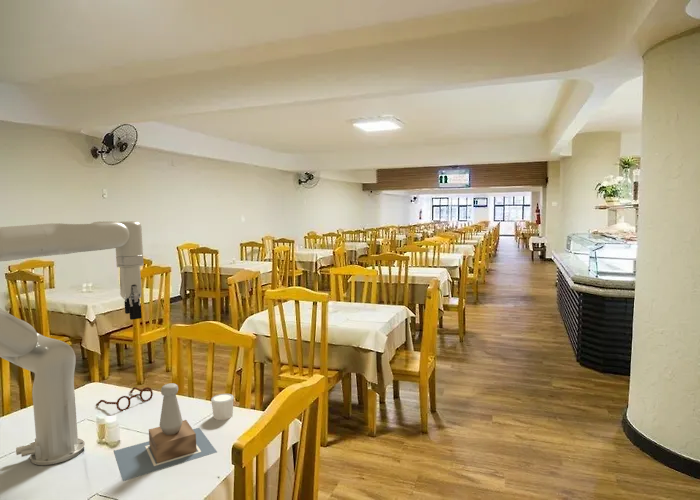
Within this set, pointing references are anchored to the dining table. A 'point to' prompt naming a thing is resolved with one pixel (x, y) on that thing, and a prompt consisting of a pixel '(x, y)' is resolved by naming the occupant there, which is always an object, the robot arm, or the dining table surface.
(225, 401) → the white rounded cylinder
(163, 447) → the walnut block
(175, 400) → the salt shaker
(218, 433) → the dining table surface
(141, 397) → the glasses
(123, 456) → the board
